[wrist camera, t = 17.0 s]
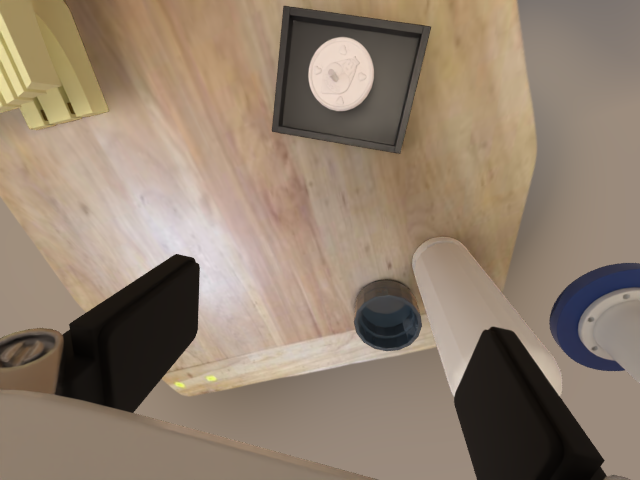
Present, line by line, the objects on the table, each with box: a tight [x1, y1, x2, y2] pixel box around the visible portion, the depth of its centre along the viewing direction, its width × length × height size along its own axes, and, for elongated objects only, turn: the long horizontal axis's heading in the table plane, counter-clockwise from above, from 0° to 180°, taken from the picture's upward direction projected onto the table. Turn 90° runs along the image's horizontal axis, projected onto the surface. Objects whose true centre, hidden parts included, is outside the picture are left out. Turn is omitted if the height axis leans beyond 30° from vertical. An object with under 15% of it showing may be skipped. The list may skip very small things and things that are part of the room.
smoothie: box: [308, 37, 374, 111], centre depth 32 cm, size 6×6×14 cm
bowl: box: [354, 280, 422, 351], centre depth 47 cm, size 9×9×5 cm
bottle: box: [412, 237, 562, 397], centre depth 33 cm, size 8×8×28 cm
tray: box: [272, 6, 431, 154], centre depth 38 cm, size 17×14×2 cm
